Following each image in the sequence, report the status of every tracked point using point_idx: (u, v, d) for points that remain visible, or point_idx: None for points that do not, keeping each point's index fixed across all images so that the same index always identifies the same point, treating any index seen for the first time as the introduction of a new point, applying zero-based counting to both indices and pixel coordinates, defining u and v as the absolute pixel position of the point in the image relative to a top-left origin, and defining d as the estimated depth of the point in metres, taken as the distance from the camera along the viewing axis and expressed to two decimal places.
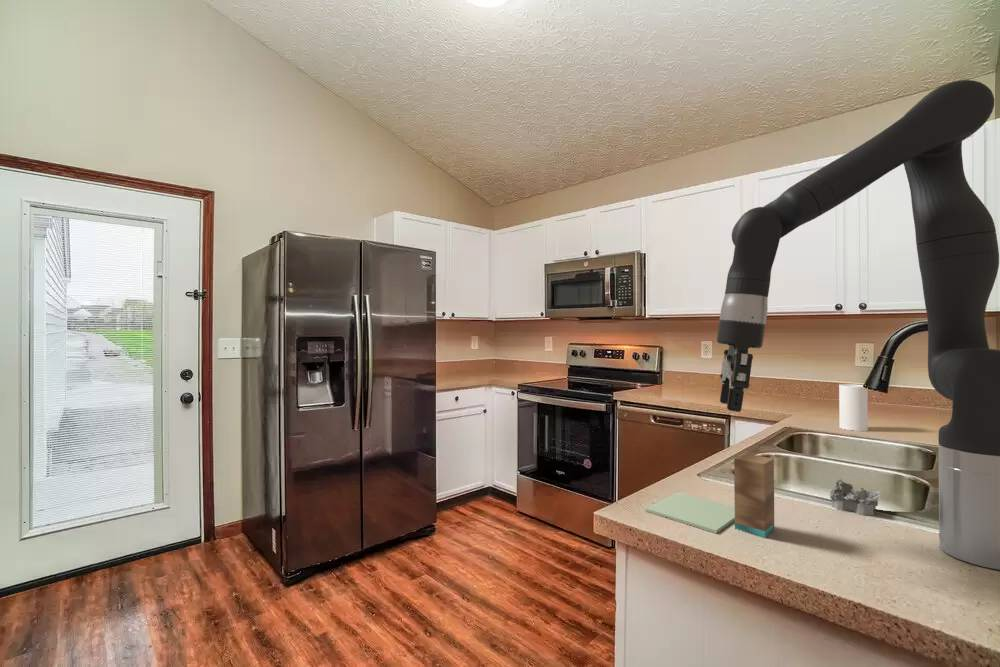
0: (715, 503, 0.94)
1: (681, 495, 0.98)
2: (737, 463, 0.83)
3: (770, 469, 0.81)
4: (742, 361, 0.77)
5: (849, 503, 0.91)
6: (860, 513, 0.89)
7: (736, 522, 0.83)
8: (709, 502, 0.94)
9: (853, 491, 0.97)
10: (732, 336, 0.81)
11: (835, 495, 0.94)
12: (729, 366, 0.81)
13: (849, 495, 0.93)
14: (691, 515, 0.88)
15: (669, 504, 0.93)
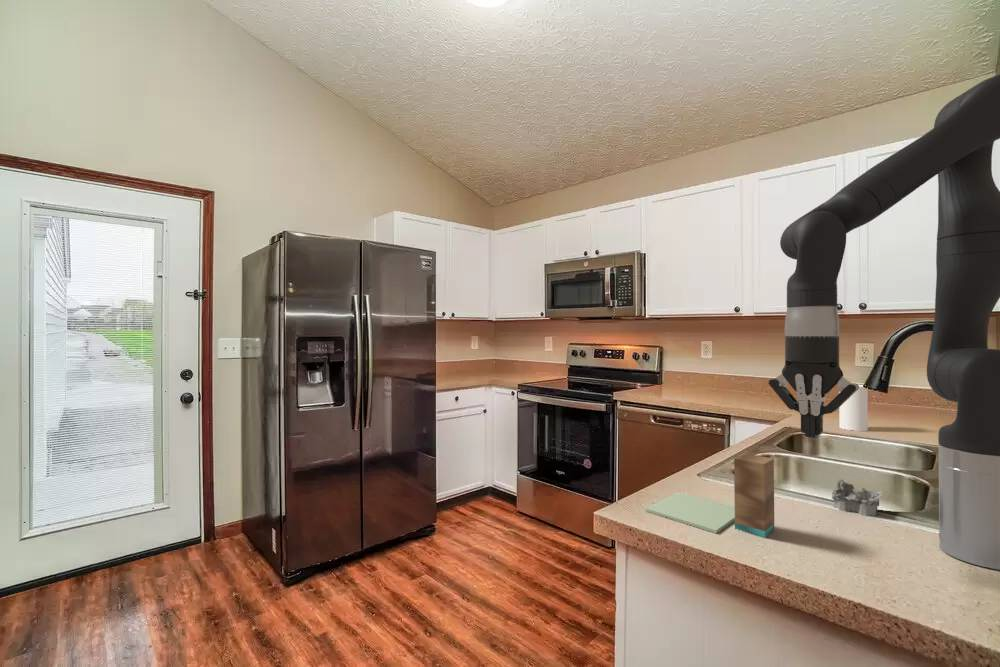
0: (715, 503, 0.94)
1: (681, 495, 0.98)
2: (737, 463, 0.83)
3: (770, 469, 0.81)
4: (851, 394, 0.72)
5: (851, 504, 0.91)
6: (862, 513, 0.89)
7: (736, 522, 0.83)
8: (709, 502, 0.94)
9: (854, 491, 0.97)
10: (832, 354, 0.72)
11: (837, 495, 0.93)
12: (821, 391, 0.74)
13: (851, 495, 0.92)
14: (691, 515, 0.88)
15: (669, 504, 0.93)
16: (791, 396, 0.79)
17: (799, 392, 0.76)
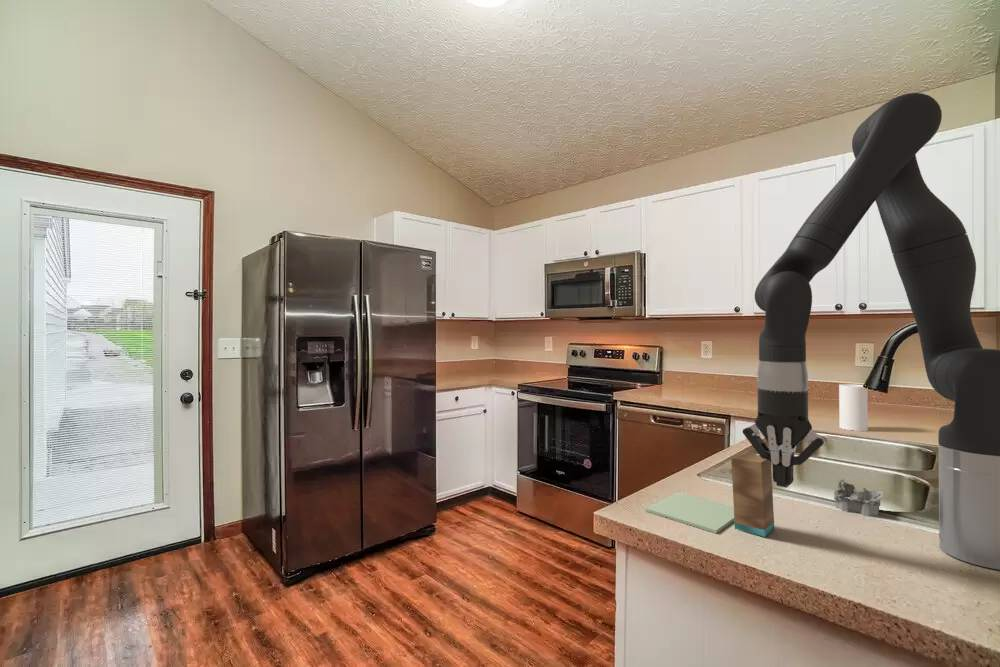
0: (715, 503, 0.94)
1: (681, 495, 0.98)
2: (734, 462, 0.83)
3: (767, 468, 0.82)
4: (819, 447, 0.75)
5: (853, 504, 0.91)
6: (865, 514, 0.88)
7: (736, 522, 0.83)
8: (709, 502, 0.94)
9: (855, 491, 0.97)
10: (801, 409, 0.76)
11: (839, 496, 0.93)
12: (791, 443, 0.77)
13: (853, 496, 0.92)
14: (691, 515, 0.88)
15: (669, 504, 0.93)
16: (764, 445, 0.82)
17: (771, 443, 0.79)
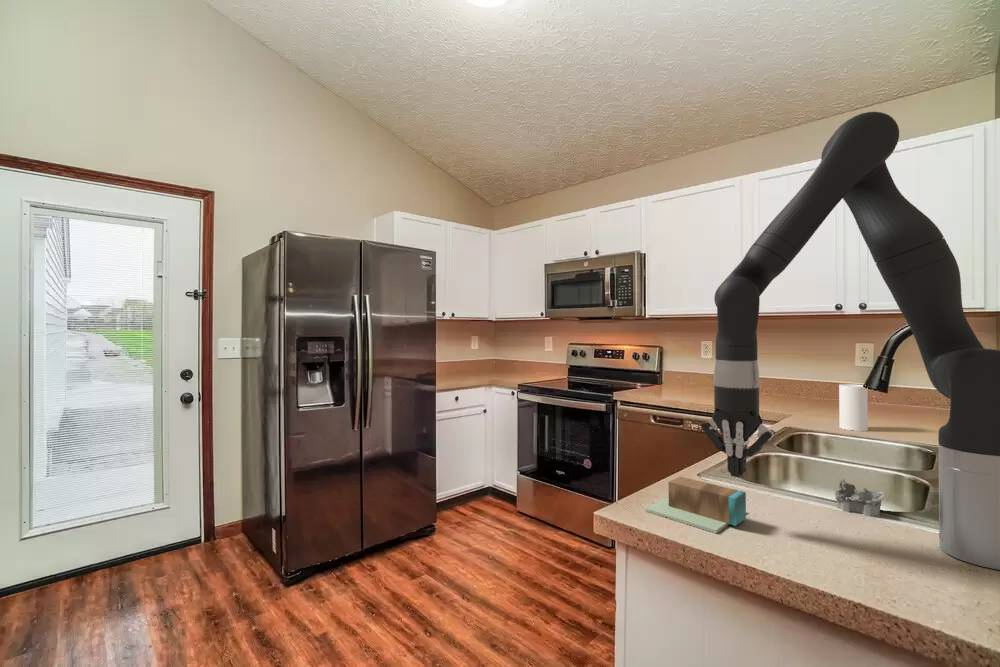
0: None
1: None
2: (672, 504, 0.92)
3: (683, 480, 0.94)
4: (768, 440, 0.81)
5: (855, 504, 0.90)
6: (867, 514, 0.88)
7: (728, 522, 0.84)
8: None
9: (856, 491, 0.97)
10: (751, 404, 0.81)
11: (840, 496, 0.93)
12: (743, 436, 0.83)
13: (854, 496, 0.92)
14: (691, 515, 0.88)
15: None
16: (720, 438, 0.88)
17: (725, 436, 0.85)
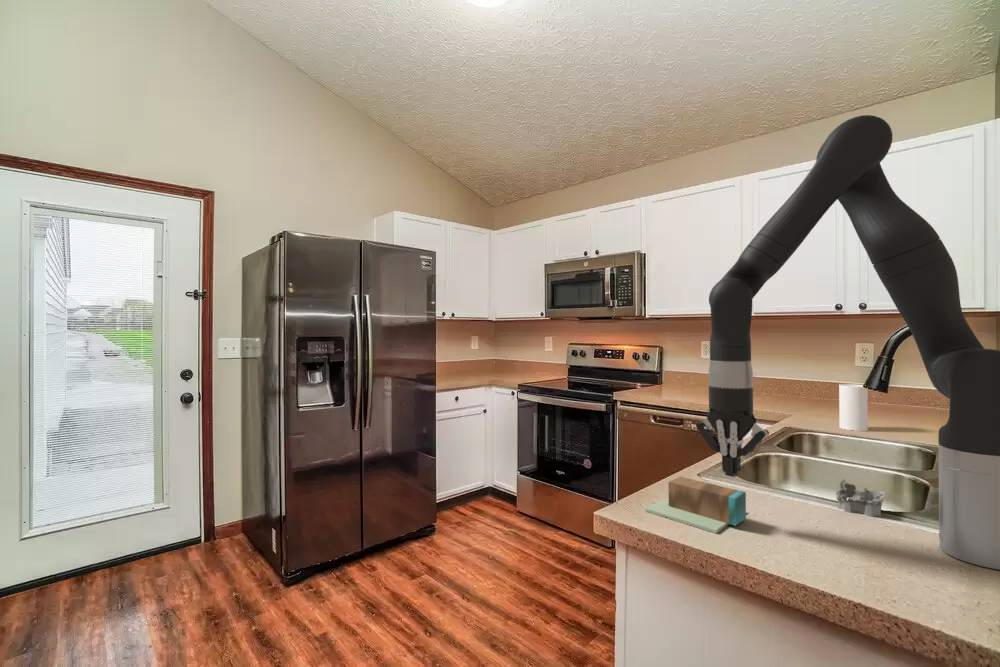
0: None
1: None
2: (672, 504, 0.92)
3: (683, 480, 0.94)
4: (762, 439, 0.82)
5: (856, 504, 0.90)
6: (868, 514, 0.88)
7: (728, 522, 0.84)
8: None
9: (856, 492, 0.97)
10: (745, 404, 0.82)
11: (841, 496, 0.93)
12: (737, 436, 0.84)
13: (855, 496, 0.92)
14: (691, 515, 0.88)
15: None
16: (715, 438, 0.89)
17: (720, 436, 0.86)
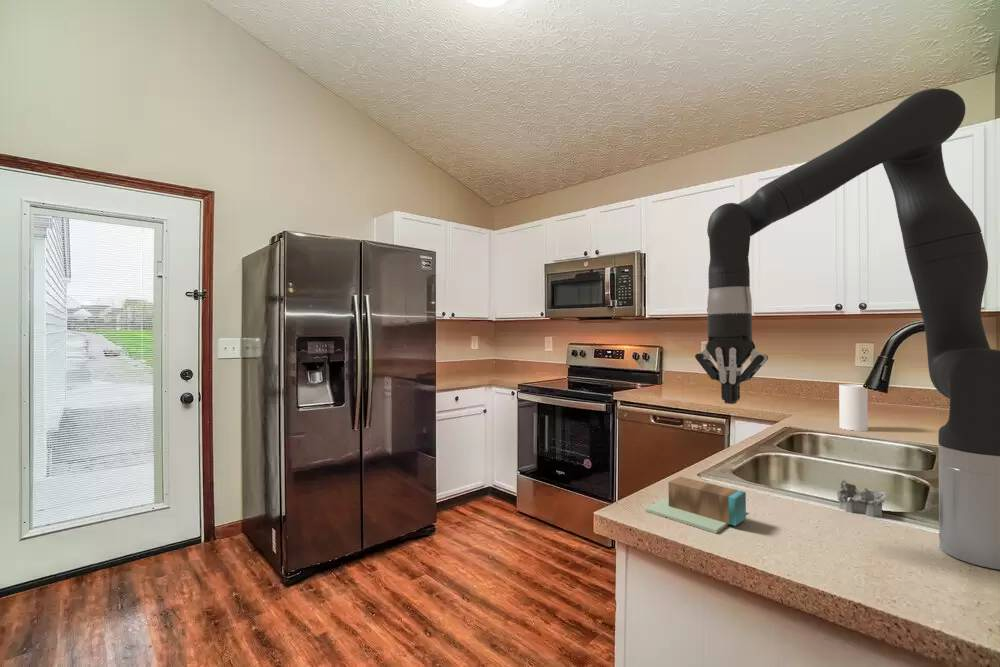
0: None
1: None
2: (672, 504, 0.92)
3: (683, 480, 0.94)
4: (761, 363, 0.82)
5: (857, 505, 0.90)
6: (869, 514, 0.88)
7: (728, 522, 0.84)
8: None
9: (857, 492, 0.97)
10: (744, 329, 0.82)
11: (842, 496, 0.93)
12: (736, 362, 0.84)
13: (856, 496, 0.92)
14: (691, 515, 0.88)
15: None
16: (714, 368, 0.89)
17: (719, 364, 0.86)
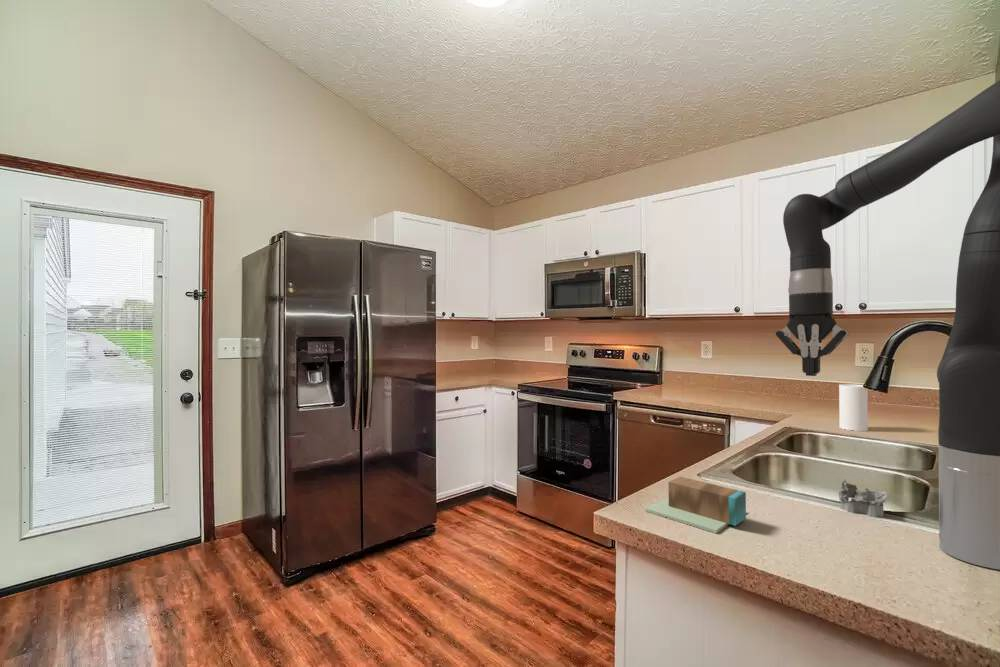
0: None
1: None
2: (672, 504, 0.92)
3: (683, 480, 0.94)
4: (843, 338, 0.90)
5: (859, 505, 0.90)
6: (871, 515, 0.88)
7: (728, 522, 0.84)
8: None
9: (858, 492, 0.97)
10: (827, 307, 0.90)
11: (844, 497, 0.93)
12: (818, 337, 0.92)
13: (858, 496, 0.92)
14: (691, 515, 0.88)
15: None
16: (794, 344, 0.97)
17: (801, 339, 0.94)
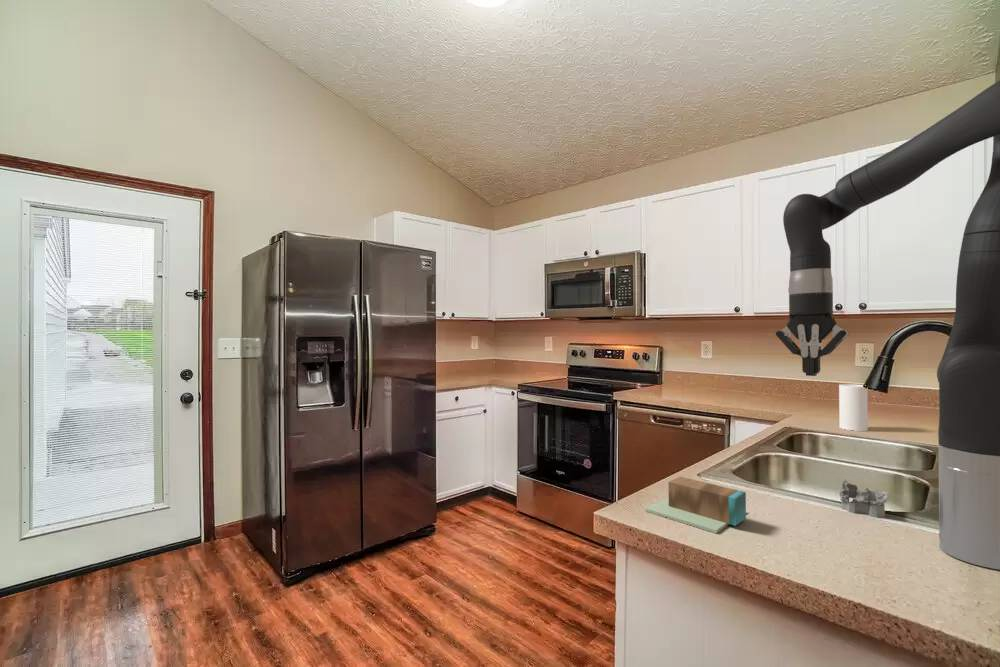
0: None
1: None
2: (672, 504, 0.92)
3: (683, 480, 0.94)
4: (843, 338, 0.90)
5: (860, 505, 0.90)
6: (873, 515, 0.88)
7: (728, 522, 0.84)
8: None
9: (858, 492, 0.96)
10: (827, 307, 0.90)
11: (845, 497, 0.93)
12: (818, 337, 0.92)
13: (859, 497, 0.92)
14: (691, 515, 0.88)
15: None
16: (794, 344, 0.97)
17: (801, 339, 0.94)
